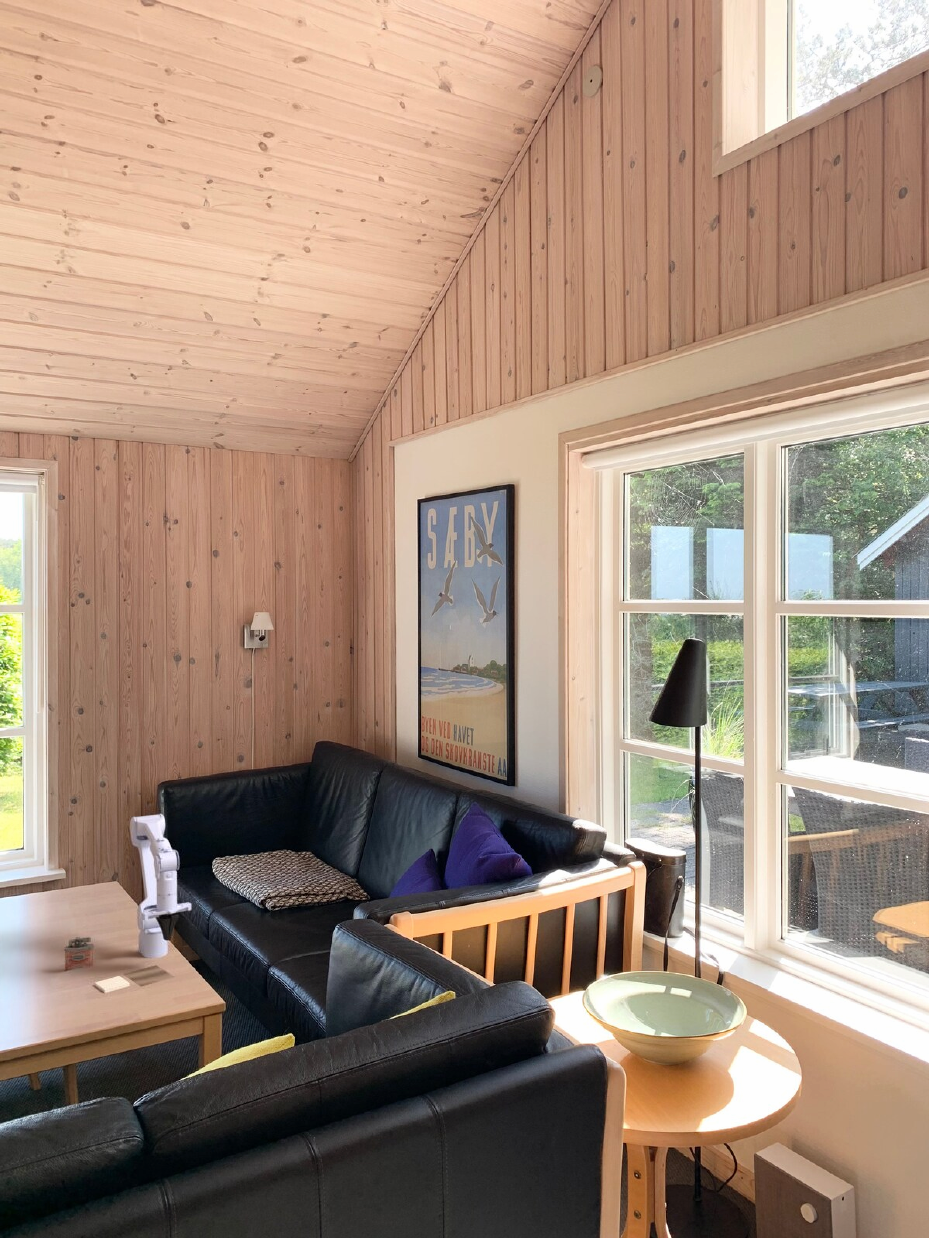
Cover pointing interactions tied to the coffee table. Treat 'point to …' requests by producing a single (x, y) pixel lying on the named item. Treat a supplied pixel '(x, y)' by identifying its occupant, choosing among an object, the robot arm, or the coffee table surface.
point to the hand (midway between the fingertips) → (167, 939)
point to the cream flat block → (112, 984)
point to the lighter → (78, 953)
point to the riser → (148, 975)
